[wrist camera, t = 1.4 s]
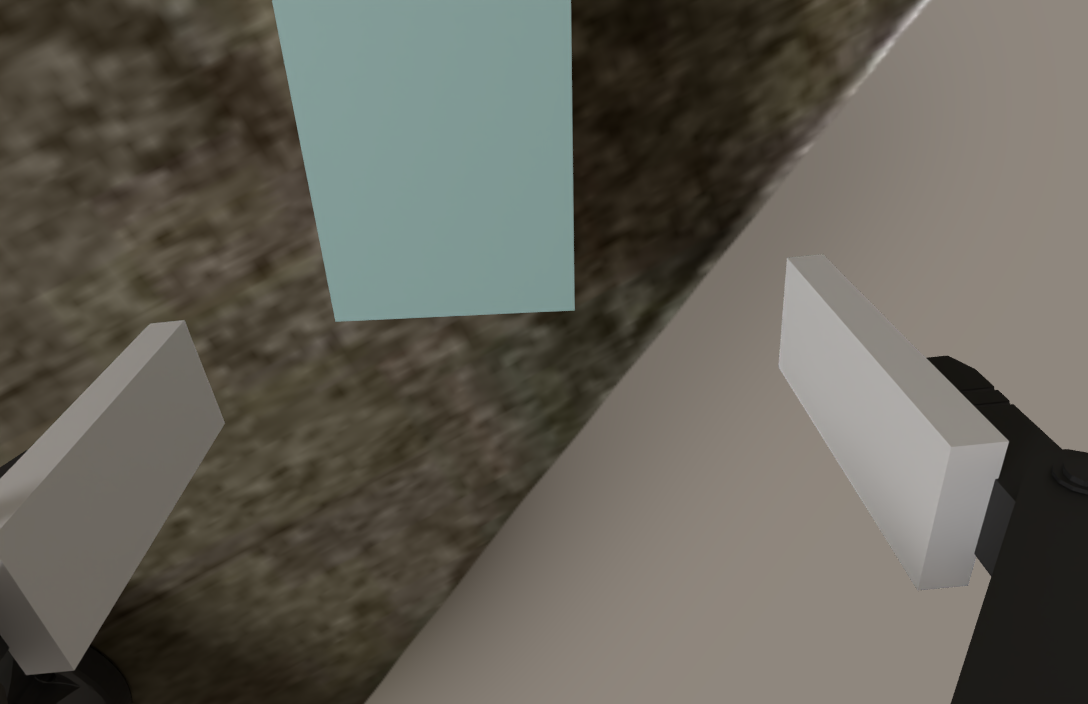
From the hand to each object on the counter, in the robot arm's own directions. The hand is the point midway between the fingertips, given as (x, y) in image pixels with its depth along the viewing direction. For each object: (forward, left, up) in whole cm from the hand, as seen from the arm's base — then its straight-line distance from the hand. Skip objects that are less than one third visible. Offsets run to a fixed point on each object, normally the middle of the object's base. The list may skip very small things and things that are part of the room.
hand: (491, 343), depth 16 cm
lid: (-2, +4, -14) cm, 15 cm away
